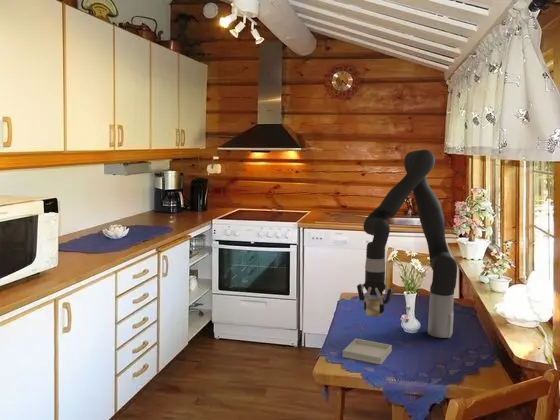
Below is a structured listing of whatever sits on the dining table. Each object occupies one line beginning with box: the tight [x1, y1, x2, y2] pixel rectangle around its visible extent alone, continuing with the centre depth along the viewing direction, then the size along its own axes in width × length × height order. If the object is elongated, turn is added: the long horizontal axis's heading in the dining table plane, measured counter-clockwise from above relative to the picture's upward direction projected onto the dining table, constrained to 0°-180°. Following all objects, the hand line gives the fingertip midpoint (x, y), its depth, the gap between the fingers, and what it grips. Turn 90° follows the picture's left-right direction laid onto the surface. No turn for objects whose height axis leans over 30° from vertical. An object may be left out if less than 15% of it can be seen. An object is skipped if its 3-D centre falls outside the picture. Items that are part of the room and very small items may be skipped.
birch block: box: [365, 296, 382, 318], centre depth 213 cm, size 5×5×6 cm
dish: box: [342, 338, 393, 365], centre depth 201 cm, size 14×14×2 cm
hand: (374, 311), depth 214 cm, fingers closed on birch block, 5 cm apart
